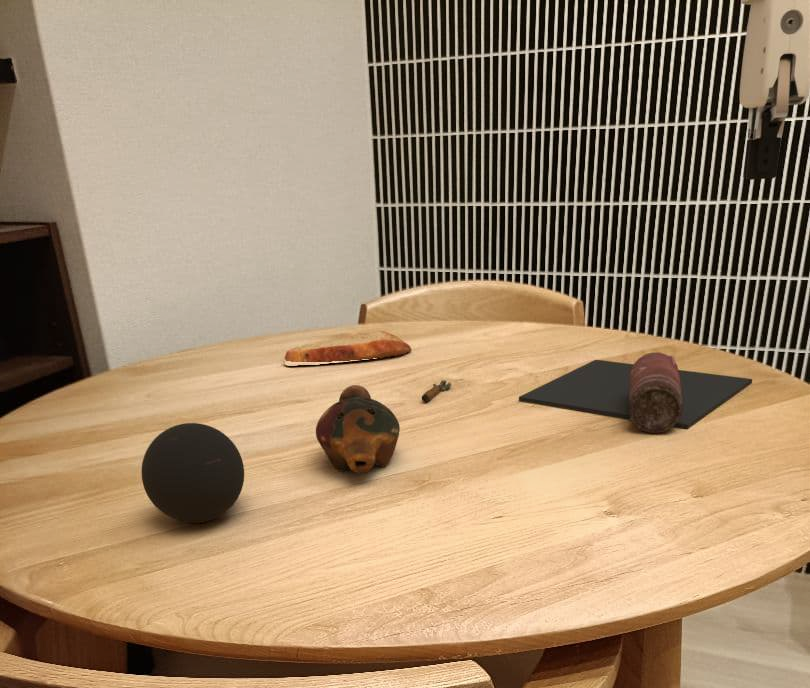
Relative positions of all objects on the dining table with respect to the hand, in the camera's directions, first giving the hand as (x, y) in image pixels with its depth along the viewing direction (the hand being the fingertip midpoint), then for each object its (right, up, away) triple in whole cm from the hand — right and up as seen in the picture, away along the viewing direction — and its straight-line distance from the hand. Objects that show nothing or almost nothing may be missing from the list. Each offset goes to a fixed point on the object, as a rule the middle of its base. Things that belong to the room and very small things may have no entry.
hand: (759, 178), depth 92 cm
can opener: (-35, -20, +27) cm, 48 cm away
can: (-10, -25, +5) cm, 28 cm away
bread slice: (-49, -9, +50) cm, 71 cm away
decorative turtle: (-45, -32, +4) cm, 55 cm away
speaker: (-61, -38, -7) cm, 72 cm away
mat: (-8, -20, +22) cm, 31 cm away
